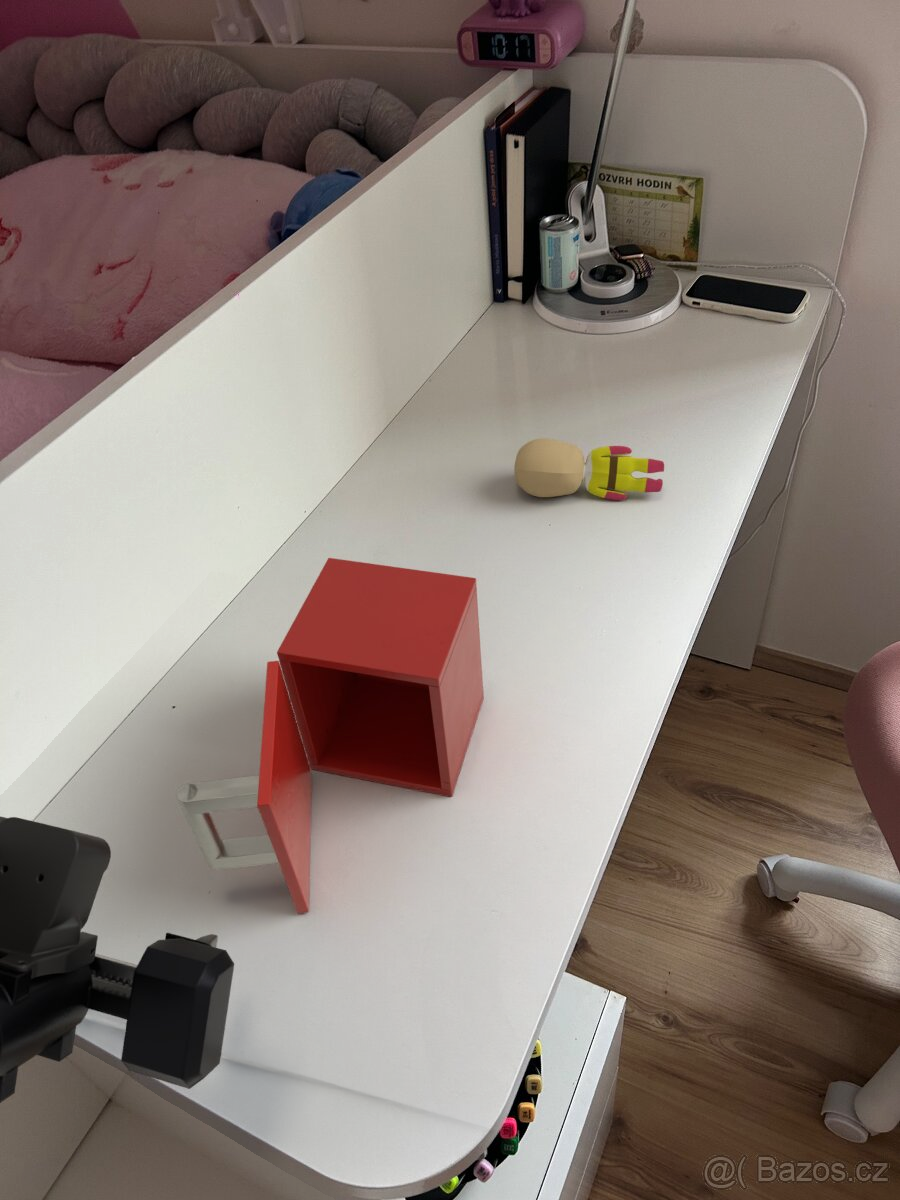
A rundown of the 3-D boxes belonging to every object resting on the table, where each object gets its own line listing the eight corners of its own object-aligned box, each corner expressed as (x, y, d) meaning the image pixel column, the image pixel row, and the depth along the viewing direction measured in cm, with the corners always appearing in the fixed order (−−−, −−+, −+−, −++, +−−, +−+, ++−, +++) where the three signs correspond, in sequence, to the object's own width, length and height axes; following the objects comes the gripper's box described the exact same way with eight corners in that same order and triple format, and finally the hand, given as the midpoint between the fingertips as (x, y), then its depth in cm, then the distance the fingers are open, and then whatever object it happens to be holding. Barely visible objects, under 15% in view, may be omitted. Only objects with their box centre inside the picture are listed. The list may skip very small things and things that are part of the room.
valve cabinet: (452, 797, 70) (438, 679, 61) (310, 769, 73) (276, 652, 63) (484, 697, 77) (476, 577, 67) (353, 675, 80) (328, 557, 70)
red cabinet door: (222, 922, 64) (168, 815, 54) (235, 783, 72) (190, 669, 63) (309, 912, 64) (270, 804, 55) (311, 774, 72) (278, 660, 63)
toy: (665, 443, 95) (521, 433, 98) (667, 450, 88) (512, 439, 91) (659, 501, 97) (517, 489, 99) (660, 511, 90) (508, 499, 92)
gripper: (160, 902, 38) (308, 824, 53) (-197, 812, 43) (33, 763, 58) (121, 1168, 38) (280, 1014, 53) (-231, 1049, 43) (7, 939, 58)
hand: (145, 924), depth 56 cm, fingers open, 9 cm apart
